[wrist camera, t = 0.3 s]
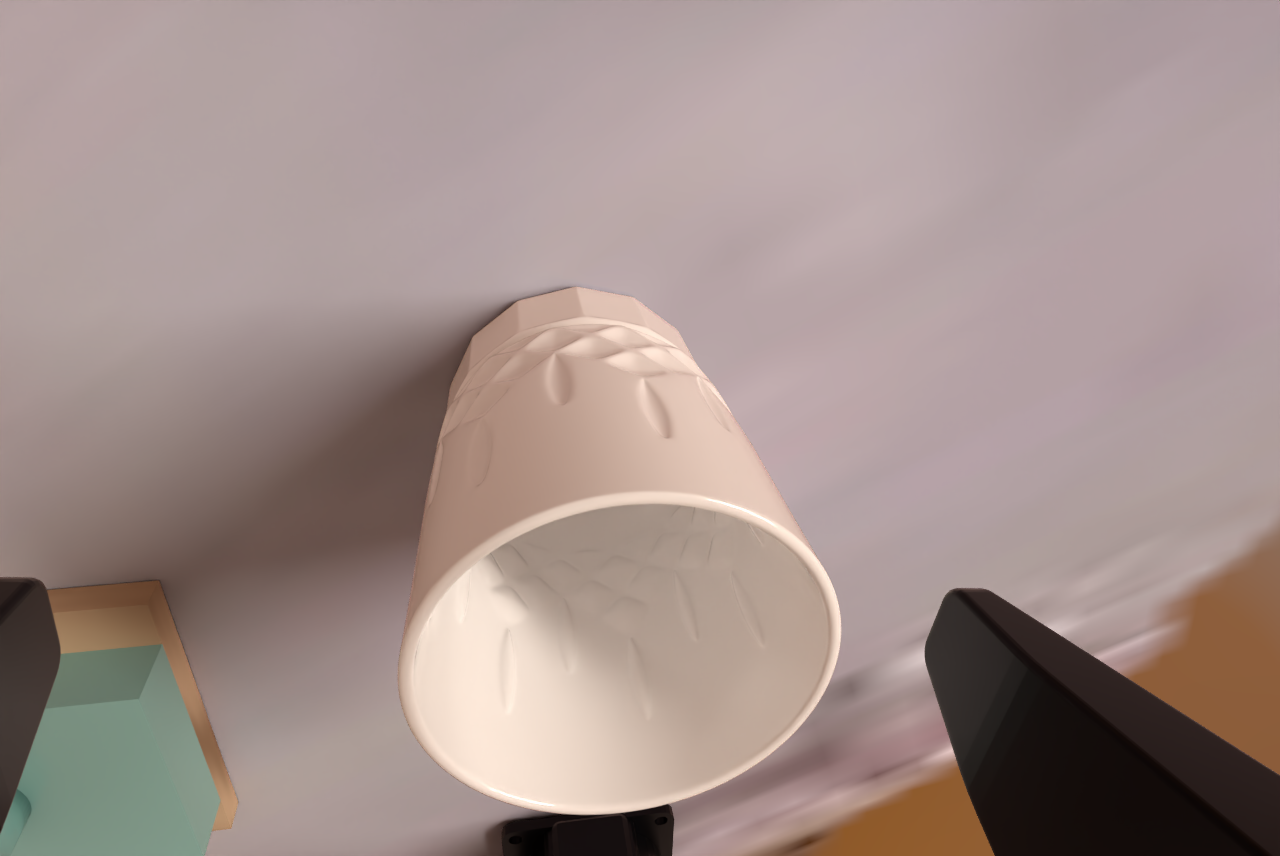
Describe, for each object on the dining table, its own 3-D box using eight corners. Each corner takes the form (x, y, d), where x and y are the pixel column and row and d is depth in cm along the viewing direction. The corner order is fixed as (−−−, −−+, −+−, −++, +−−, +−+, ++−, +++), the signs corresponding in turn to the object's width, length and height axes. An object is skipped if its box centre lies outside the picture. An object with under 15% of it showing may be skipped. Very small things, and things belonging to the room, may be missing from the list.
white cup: (477, 543, 26) (475, 856, 17) (385, 305, 22) (323, 567, 13) (734, 478, 26) (854, 757, 18) (693, 229, 22) (825, 440, 13)
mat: (238, 802, 30) (231, 828, 29) (-83, 840, 29) (-100, 869, 28) (158, 580, 25) (147, 604, 24) (-238, 614, 23) (-265, 641, 23)
